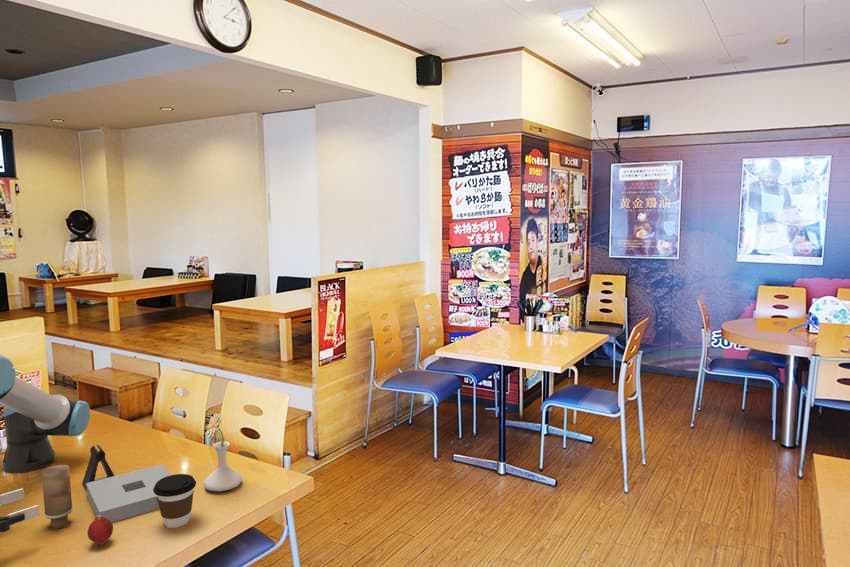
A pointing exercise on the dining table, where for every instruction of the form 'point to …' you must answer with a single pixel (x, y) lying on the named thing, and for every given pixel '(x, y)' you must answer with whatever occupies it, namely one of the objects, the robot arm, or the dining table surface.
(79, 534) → the dining table surface
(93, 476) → the phone stand
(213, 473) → the flower in vase
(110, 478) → the slate board
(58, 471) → the walnut peg
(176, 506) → the coffee cup
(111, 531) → the onion
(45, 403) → the robot arm
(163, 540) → the dining table surface
